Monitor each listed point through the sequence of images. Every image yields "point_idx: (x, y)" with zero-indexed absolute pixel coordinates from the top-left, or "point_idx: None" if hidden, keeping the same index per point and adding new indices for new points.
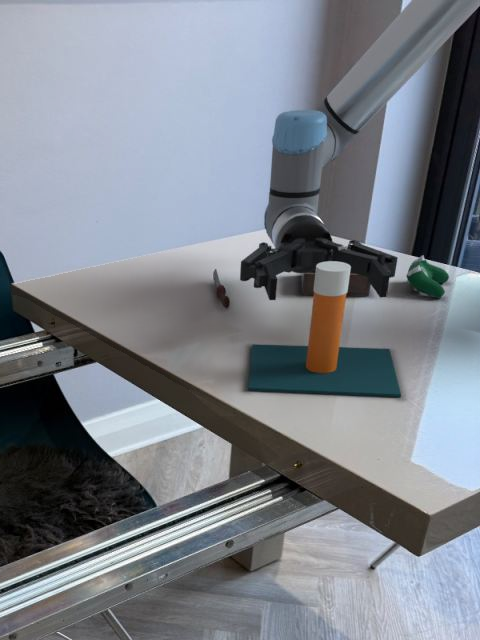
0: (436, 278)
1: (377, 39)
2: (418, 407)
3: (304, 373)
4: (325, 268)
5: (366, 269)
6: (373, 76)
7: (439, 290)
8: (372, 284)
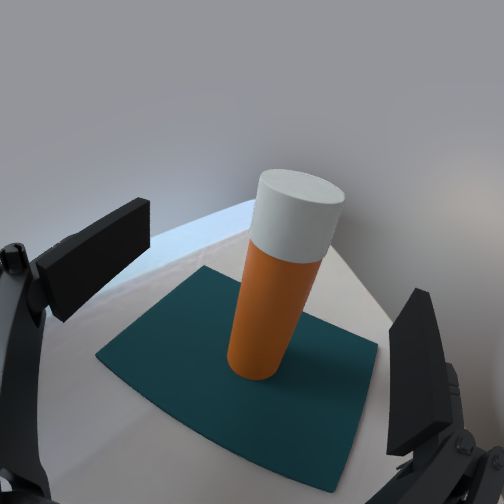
0: None
1: None
2: (203, 251)
3: (290, 351)
4: (327, 186)
5: (33, 326)
6: None
7: None
8: (97, 287)
